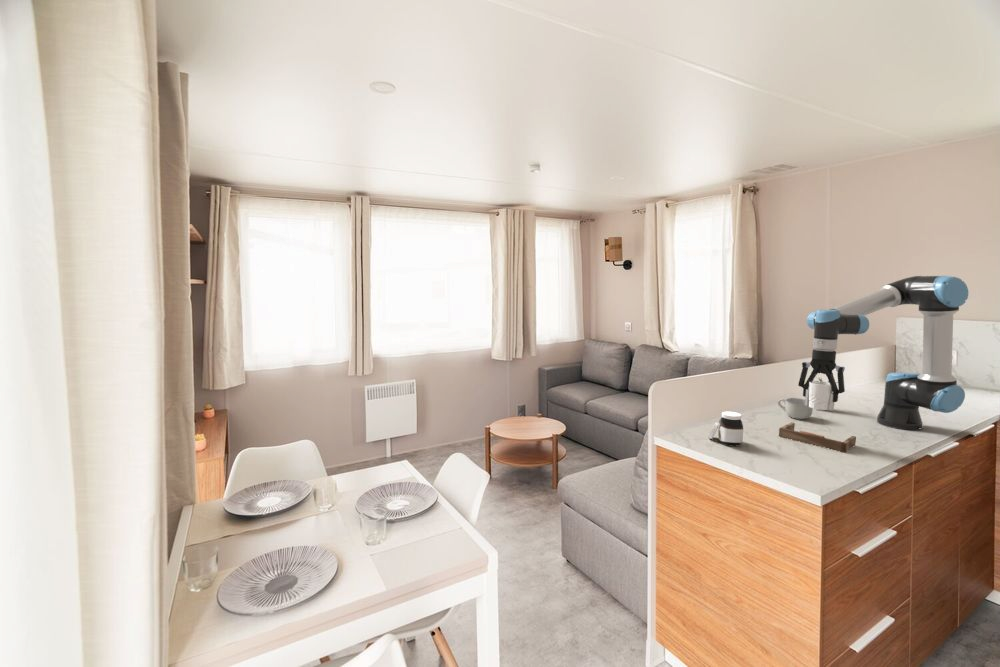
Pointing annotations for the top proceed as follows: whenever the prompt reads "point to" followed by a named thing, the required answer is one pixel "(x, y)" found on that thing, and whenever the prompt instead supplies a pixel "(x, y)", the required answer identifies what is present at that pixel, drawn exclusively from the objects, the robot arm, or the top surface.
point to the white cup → (819, 395)
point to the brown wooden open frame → (816, 439)
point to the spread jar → (729, 429)
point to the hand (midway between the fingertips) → (819, 407)
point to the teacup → (796, 408)
